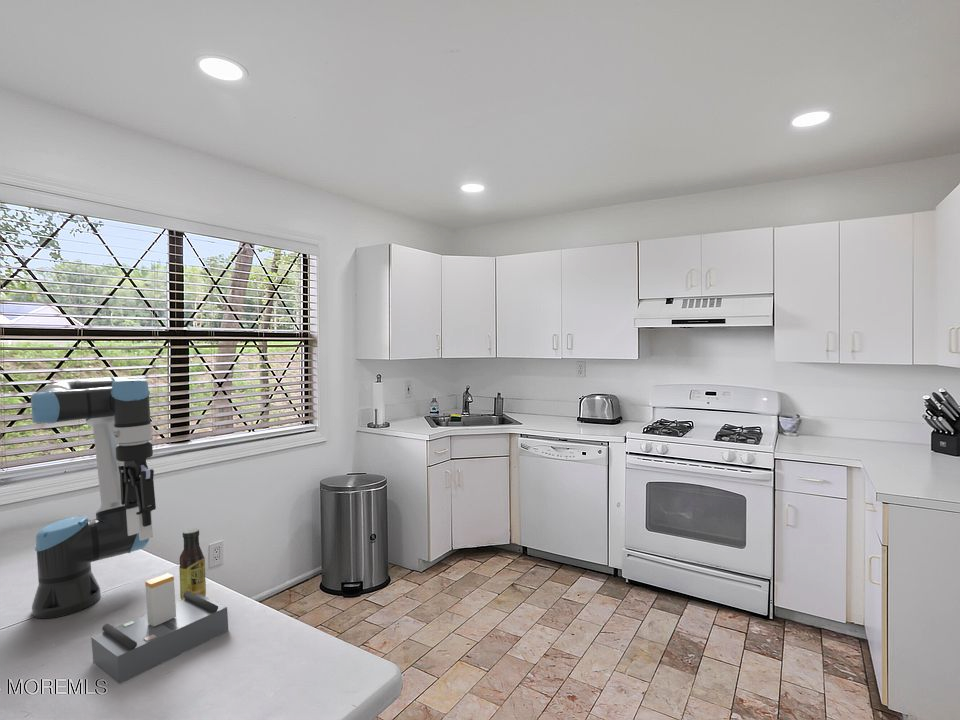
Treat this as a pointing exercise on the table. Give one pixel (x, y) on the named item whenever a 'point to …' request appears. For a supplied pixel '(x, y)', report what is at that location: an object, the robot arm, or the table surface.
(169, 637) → the switch panel
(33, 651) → the table surface
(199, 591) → the sauce bottle
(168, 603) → the lever
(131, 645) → the pair of dark rails
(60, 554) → the robot arm
